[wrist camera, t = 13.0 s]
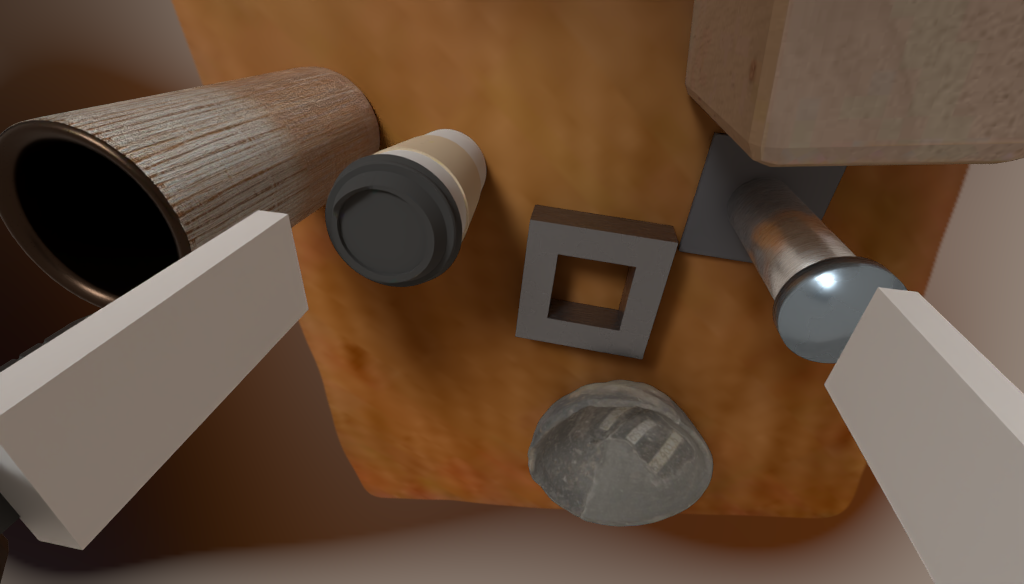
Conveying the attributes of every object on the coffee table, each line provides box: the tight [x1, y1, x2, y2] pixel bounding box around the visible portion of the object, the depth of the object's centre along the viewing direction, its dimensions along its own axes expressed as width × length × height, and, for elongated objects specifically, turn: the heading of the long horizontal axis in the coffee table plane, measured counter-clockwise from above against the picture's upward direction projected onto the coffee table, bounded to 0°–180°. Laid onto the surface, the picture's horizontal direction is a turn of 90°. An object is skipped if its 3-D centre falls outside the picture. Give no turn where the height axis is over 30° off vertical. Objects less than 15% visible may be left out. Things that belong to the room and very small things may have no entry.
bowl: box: [528, 380, 713, 526], centre depth 50 cm, size 18×18×8 cm
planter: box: [0, 67, 380, 308], centre depth 32 cm, size 10×10×23 cm
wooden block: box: [685, 0, 1024, 167], centre depth 24 cm, size 10×10×20 cm
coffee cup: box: [325, 129, 486, 287], centre depth 36 cm, size 9×9×15 cm
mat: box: [678, 133, 847, 263], centre depth 39 cm, size 10×10×1 cm
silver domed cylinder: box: [727, 177, 907, 363], centre depth 32 cm, size 6×6×16 cm
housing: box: [515, 205, 678, 359], centre depth 43 cm, size 12×12×4 cm
